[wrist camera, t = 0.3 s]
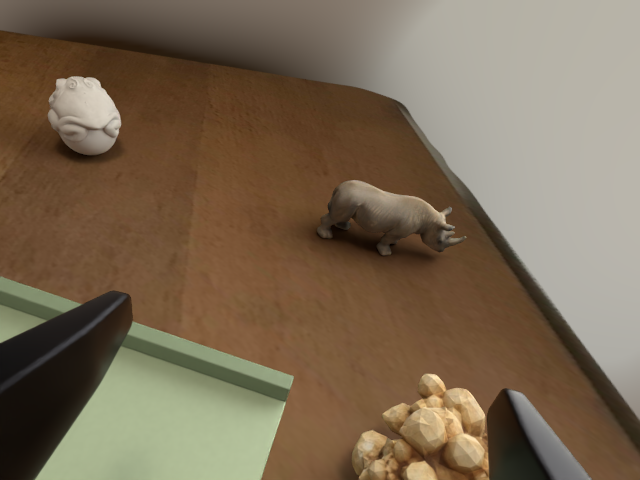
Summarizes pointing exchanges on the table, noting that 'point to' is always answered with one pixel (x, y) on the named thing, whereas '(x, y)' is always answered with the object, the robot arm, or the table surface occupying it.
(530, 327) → the table surface
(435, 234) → the rhino figurine
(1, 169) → the table surface
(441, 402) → the mineral formation
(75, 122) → the frog figurine
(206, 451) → the desk shelf
